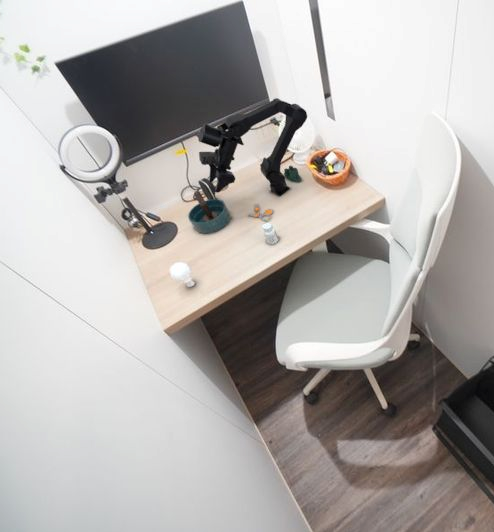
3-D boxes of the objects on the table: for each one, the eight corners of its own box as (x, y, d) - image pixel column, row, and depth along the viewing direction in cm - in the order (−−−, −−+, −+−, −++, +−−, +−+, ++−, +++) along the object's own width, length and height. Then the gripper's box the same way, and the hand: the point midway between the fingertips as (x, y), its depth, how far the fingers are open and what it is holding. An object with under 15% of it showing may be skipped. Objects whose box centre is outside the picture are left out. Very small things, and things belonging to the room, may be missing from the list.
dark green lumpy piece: (304, 179, 149) (301, 170, 145) (297, 184, 147) (294, 174, 144) (289, 172, 155) (286, 162, 151) (282, 176, 153) (279, 167, 149)
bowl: (217, 205, 143) (211, 195, 138) (238, 218, 136) (232, 207, 131) (188, 225, 136) (181, 214, 131) (208, 239, 129) (201, 228, 124)
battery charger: (223, 202, 144) (212, 180, 135) (216, 206, 142) (205, 185, 134) (215, 196, 147) (204, 175, 139) (208, 201, 146) (196, 180, 137)
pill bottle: (280, 238, 125) (275, 223, 119) (273, 245, 122) (267, 231, 116) (272, 235, 126) (266, 220, 120) (265, 242, 124) (258, 227, 118)
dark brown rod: (214, 214, 138) (198, 185, 127) (222, 219, 135) (206, 190, 124) (202, 222, 135) (185, 193, 124) (210, 227, 132) (193, 198, 121)
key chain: (277, 213, 135) (276, 211, 134) (264, 223, 131) (264, 221, 131) (256, 204, 140) (256, 202, 140) (244, 213, 137) (243, 212, 136)
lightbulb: (185, 279, 116) (169, 259, 107) (202, 276, 116) (187, 256, 107) (180, 293, 112) (163, 273, 103) (198, 291, 111) (182, 271, 103)
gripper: (198, 134, 122) (187, 170, 128) (211, 153, 111) (198, 193, 117) (227, 144, 130) (215, 178, 136) (241, 163, 119) (228, 199, 125)
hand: (213, 186), depth 128 cm, fingers open, 9 cm apart
